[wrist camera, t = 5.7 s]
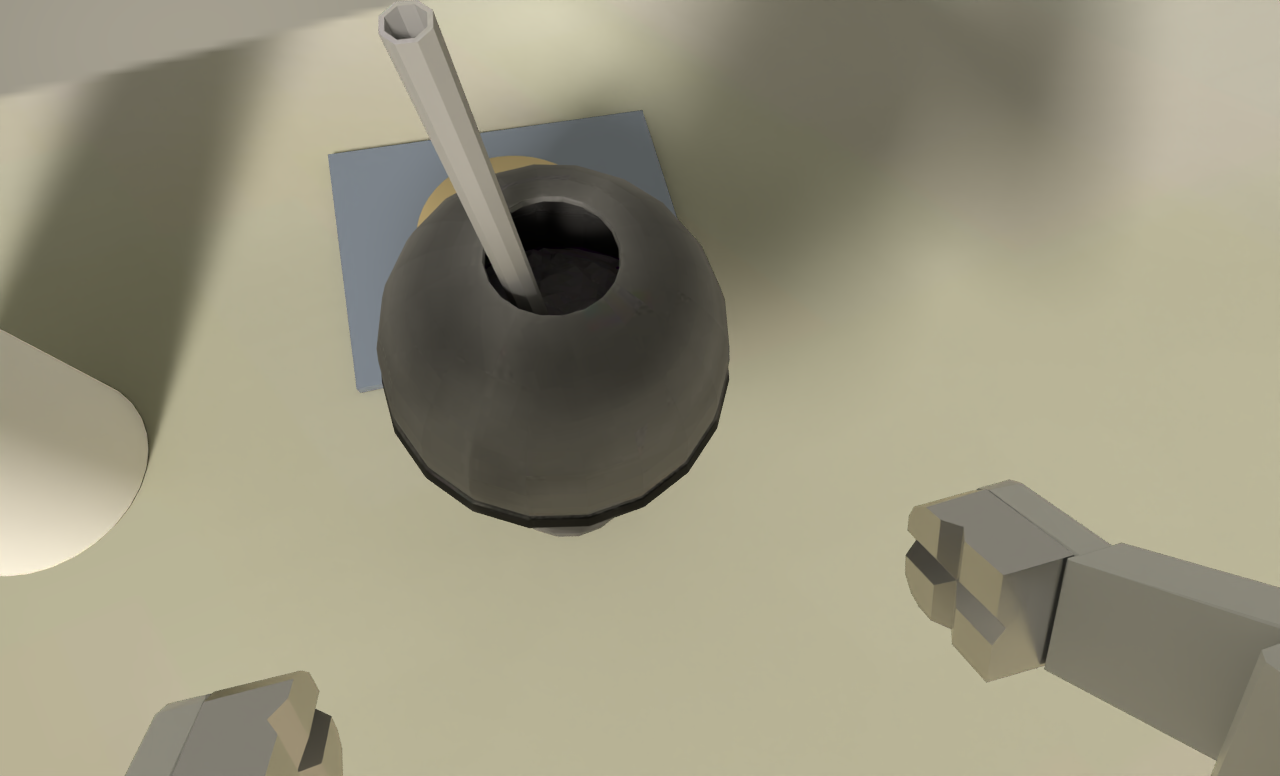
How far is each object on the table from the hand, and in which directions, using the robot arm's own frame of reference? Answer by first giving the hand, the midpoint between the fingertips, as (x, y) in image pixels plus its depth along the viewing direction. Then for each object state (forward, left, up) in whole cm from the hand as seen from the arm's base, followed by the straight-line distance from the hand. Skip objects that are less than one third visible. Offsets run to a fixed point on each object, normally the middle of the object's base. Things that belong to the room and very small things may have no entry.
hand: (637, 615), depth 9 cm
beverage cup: (0, -5, -15) cm, 16 cm away
